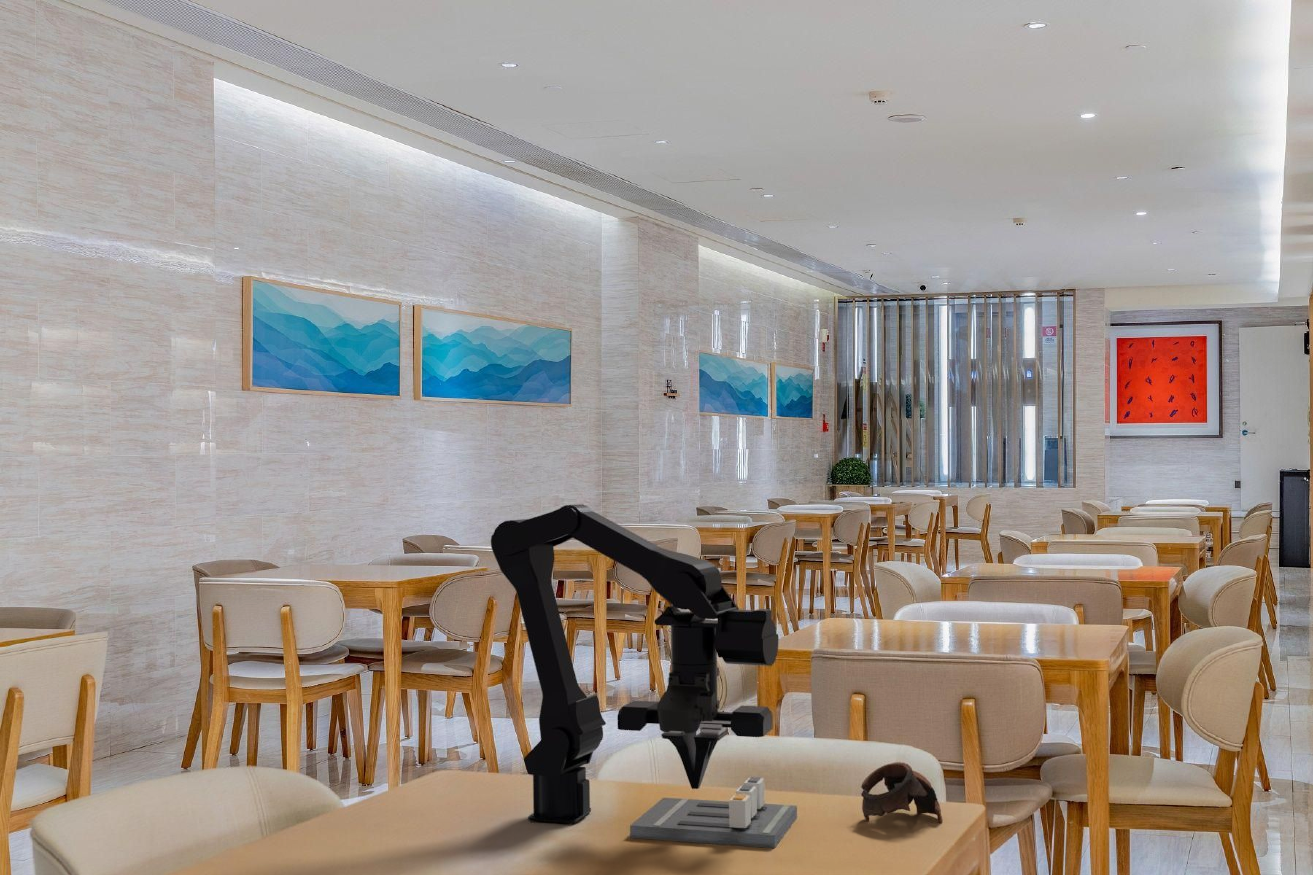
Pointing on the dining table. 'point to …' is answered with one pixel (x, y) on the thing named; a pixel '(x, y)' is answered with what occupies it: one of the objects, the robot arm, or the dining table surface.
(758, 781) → the block
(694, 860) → the dining table surface
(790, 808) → the panel
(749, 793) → the breaker
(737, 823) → the block
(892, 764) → the brown curved band frame
